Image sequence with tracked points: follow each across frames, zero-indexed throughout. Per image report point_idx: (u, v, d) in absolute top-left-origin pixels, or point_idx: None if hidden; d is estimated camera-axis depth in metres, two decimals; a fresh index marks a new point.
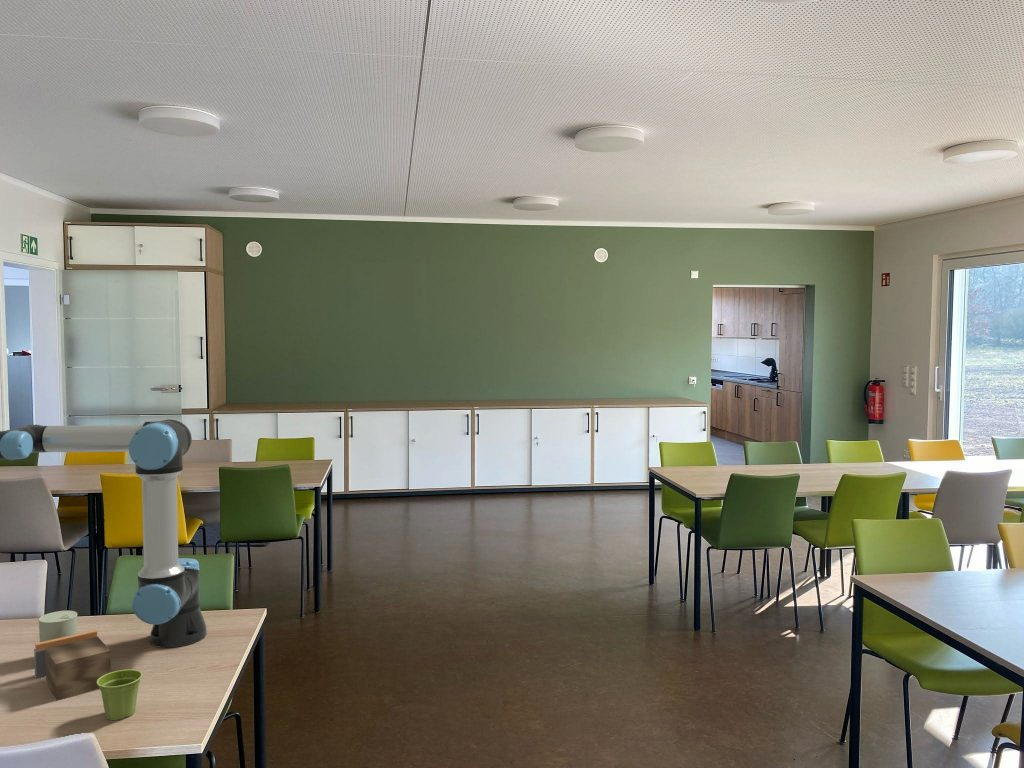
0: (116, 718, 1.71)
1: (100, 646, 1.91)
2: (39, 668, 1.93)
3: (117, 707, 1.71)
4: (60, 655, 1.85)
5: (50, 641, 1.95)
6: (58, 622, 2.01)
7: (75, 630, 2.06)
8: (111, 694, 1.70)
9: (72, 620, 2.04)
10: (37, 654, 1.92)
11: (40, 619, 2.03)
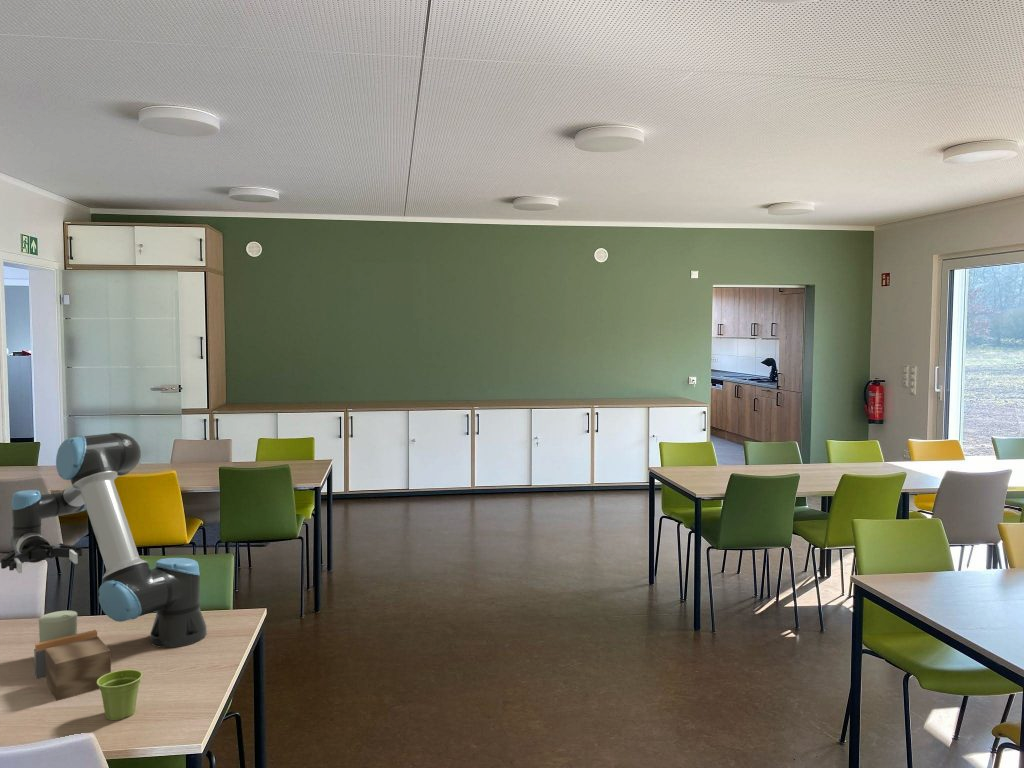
0: (116, 718, 1.71)
1: (100, 646, 1.91)
2: (39, 668, 1.93)
3: (117, 707, 1.71)
4: (60, 655, 1.85)
5: (50, 641, 1.95)
6: (58, 622, 2.01)
7: (75, 630, 2.06)
8: (111, 694, 1.70)
9: (72, 620, 2.04)
10: (37, 654, 1.92)
11: (40, 619, 2.03)
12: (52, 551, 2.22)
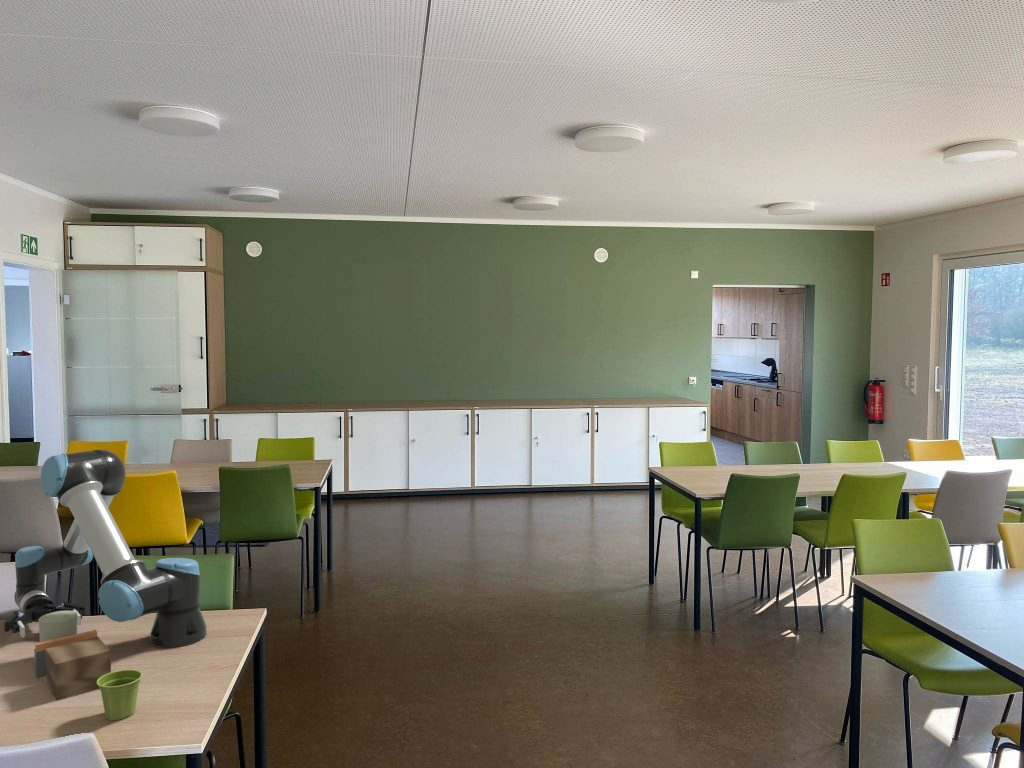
0: (116, 718, 1.71)
1: (100, 646, 1.91)
2: (39, 668, 1.93)
3: (117, 707, 1.71)
4: (60, 655, 1.85)
5: (50, 641, 1.95)
6: (58, 622, 2.01)
7: (75, 630, 2.06)
8: (111, 694, 1.70)
9: (72, 620, 2.04)
10: (37, 654, 1.92)
11: (40, 619, 2.03)
12: (55, 610, 2.21)
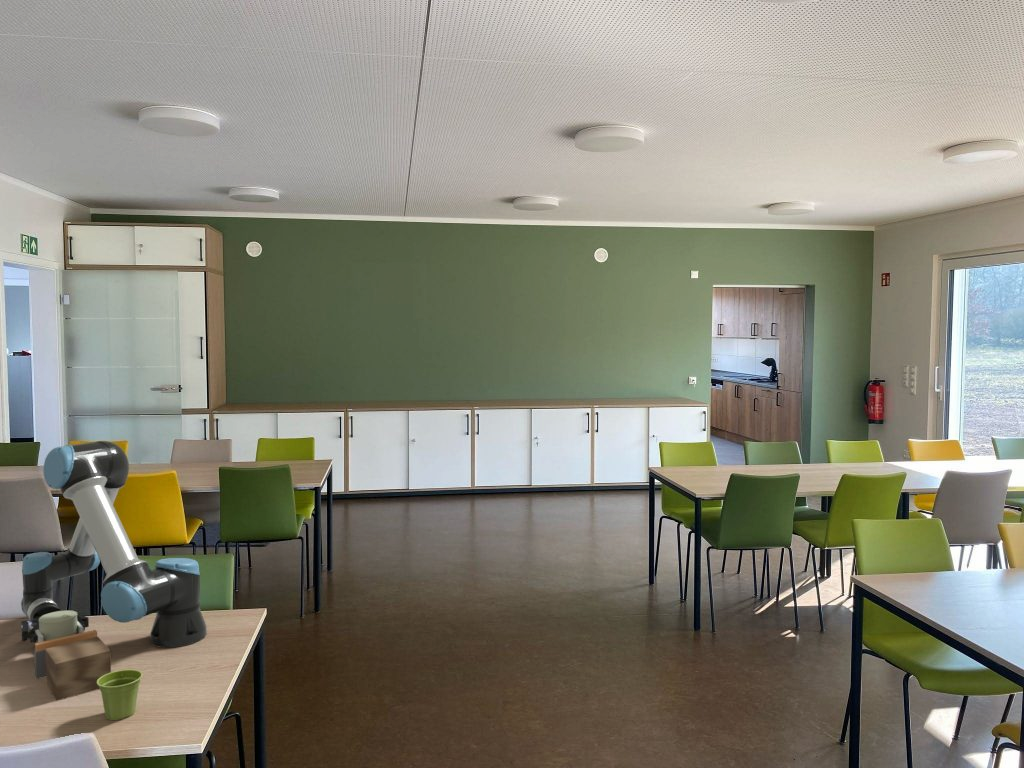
0: (116, 718, 1.71)
1: (100, 646, 1.91)
2: (39, 668, 1.93)
3: (117, 707, 1.71)
4: (60, 655, 1.85)
5: (50, 641, 1.95)
6: (58, 622, 2.01)
7: (75, 630, 2.06)
8: (111, 694, 1.70)
9: (72, 620, 2.04)
10: (37, 654, 1.92)
11: (40, 619, 2.03)
12: None
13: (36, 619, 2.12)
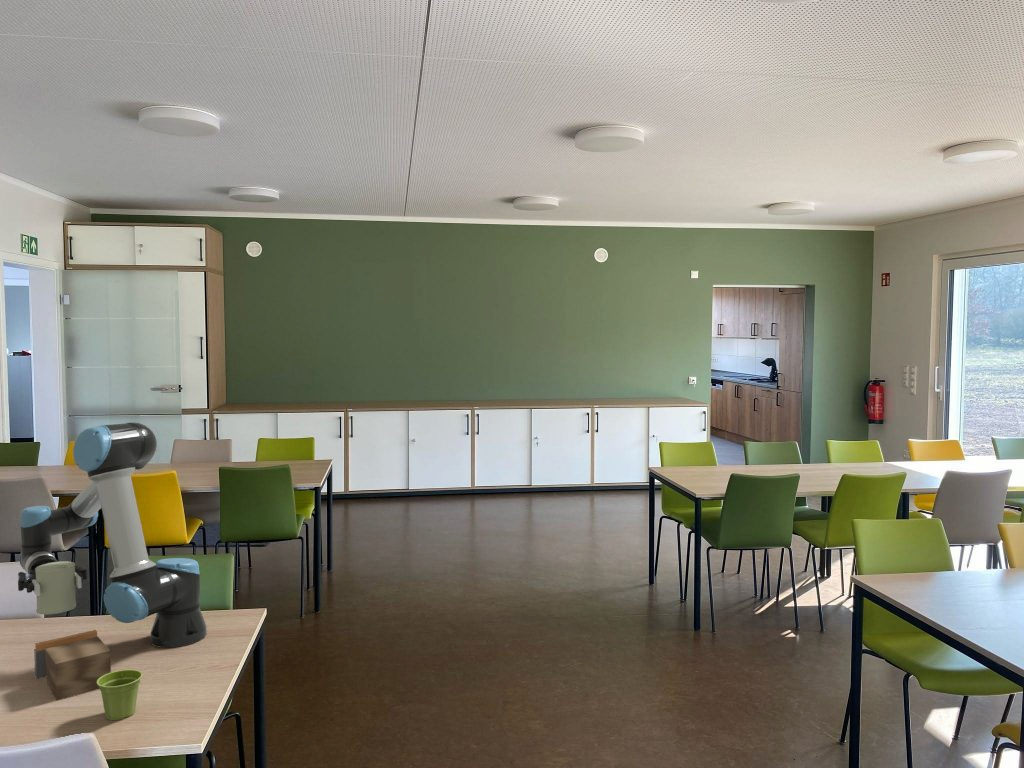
0: (116, 718, 1.71)
1: (100, 646, 1.91)
2: (39, 668, 1.93)
3: (117, 707, 1.71)
4: (60, 655, 1.85)
5: (50, 641, 1.95)
6: (55, 571, 1.96)
7: (73, 580, 2.01)
8: (111, 694, 1.70)
9: (69, 569, 1.99)
10: (37, 654, 1.92)
11: (37, 568, 1.98)
12: None
13: (33, 571, 2.07)
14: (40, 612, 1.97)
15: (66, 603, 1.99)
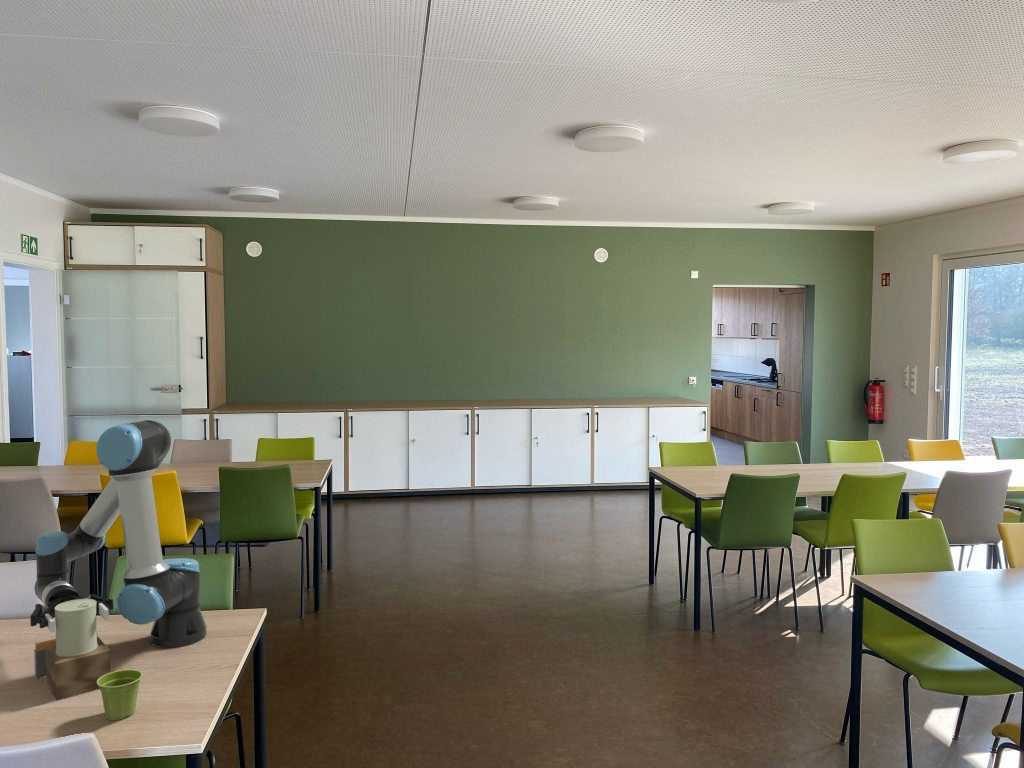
0: (116, 718, 1.71)
1: (100, 646, 1.91)
2: (39, 668, 1.93)
3: (118, 707, 1.71)
4: None
5: (50, 641, 1.95)
6: (76, 611, 1.84)
7: (94, 620, 1.89)
8: (111, 694, 1.70)
9: (91, 608, 1.87)
10: (37, 654, 1.92)
11: (56, 608, 1.86)
12: None
13: (51, 603, 1.95)
14: (60, 654, 1.84)
15: (87, 645, 1.87)
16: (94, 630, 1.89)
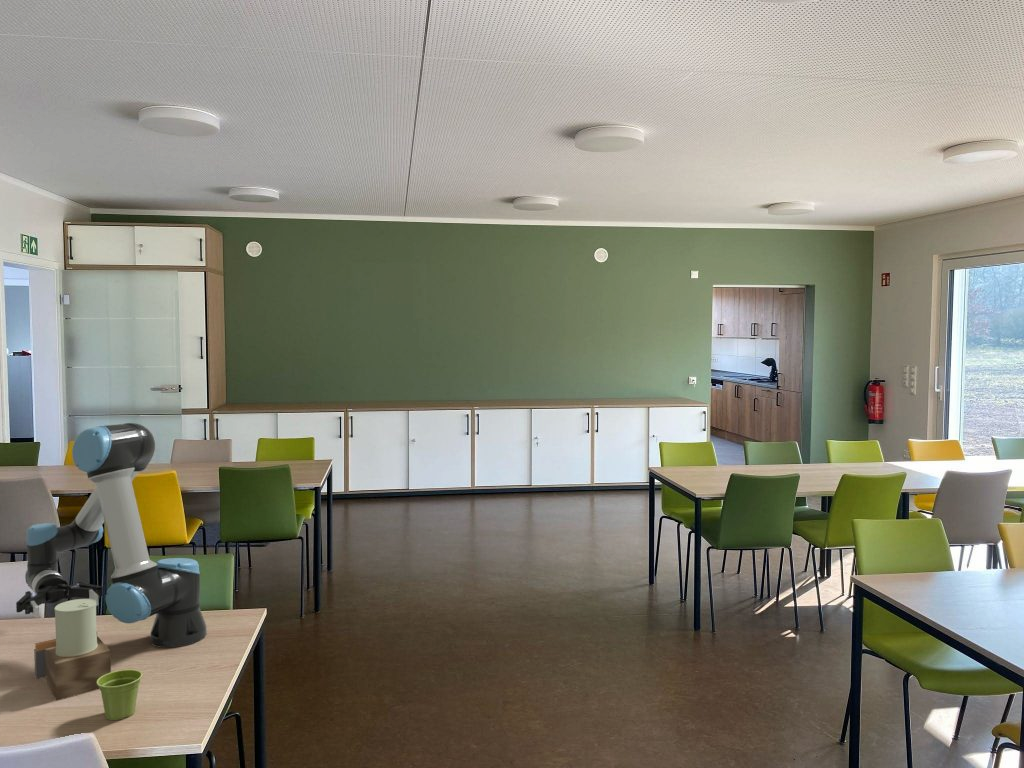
0: (116, 718, 1.71)
1: (100, 646, 1.91)
2: (39, 668, 1.93)
3: (117, 707, 1.71)
4: None
5: (50, 641, 1.95)
6: (76, 611, 1.84)
7: (94, 620, 1.89)
8: (111, 694, 1.70)
9: (91, 608, 1.87)
10: (37, 654, 1.92)
11: (56, 608, 1.86)
12: (70, 591, 2.06)
13: (41, 590, 2.04)
14: (60, 654, 1.84)
15: (87, 645, 1.87)
16: (94, 630, 1.89)
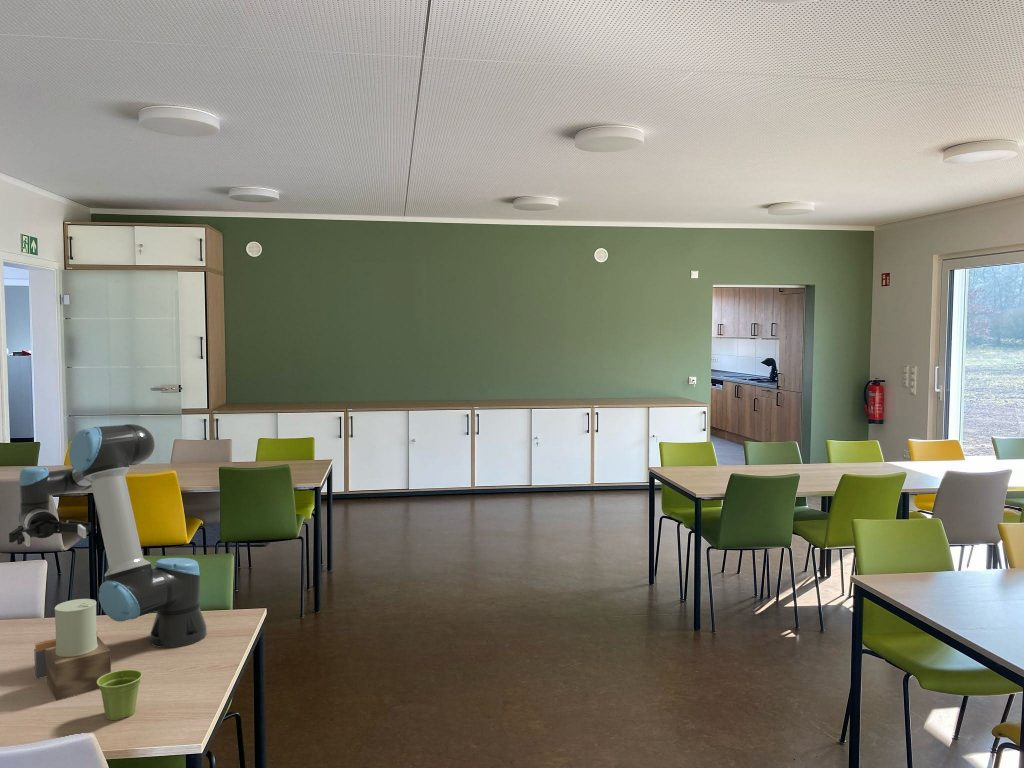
0: (116, 718, 1.71)
1: (100, 646, 1.91)
2: (39, 668, 1.93)
3: (117, 707, 1.71)
4: None
5: (50, 641, 1.95)
6: (76, 611, 1.84)
7: (94, 620, 1.89)
8: (111, 694, 1.70)
9: (91, 608, 1.87)
10: (37, 654, 1.92)
11: (56, 608, 1.86)
12: (60, 526, 2.20)
13: None
14: (60, 655, 1.84)
15: (87, 645, 1.87)
16: (94, 630, 1.89)
